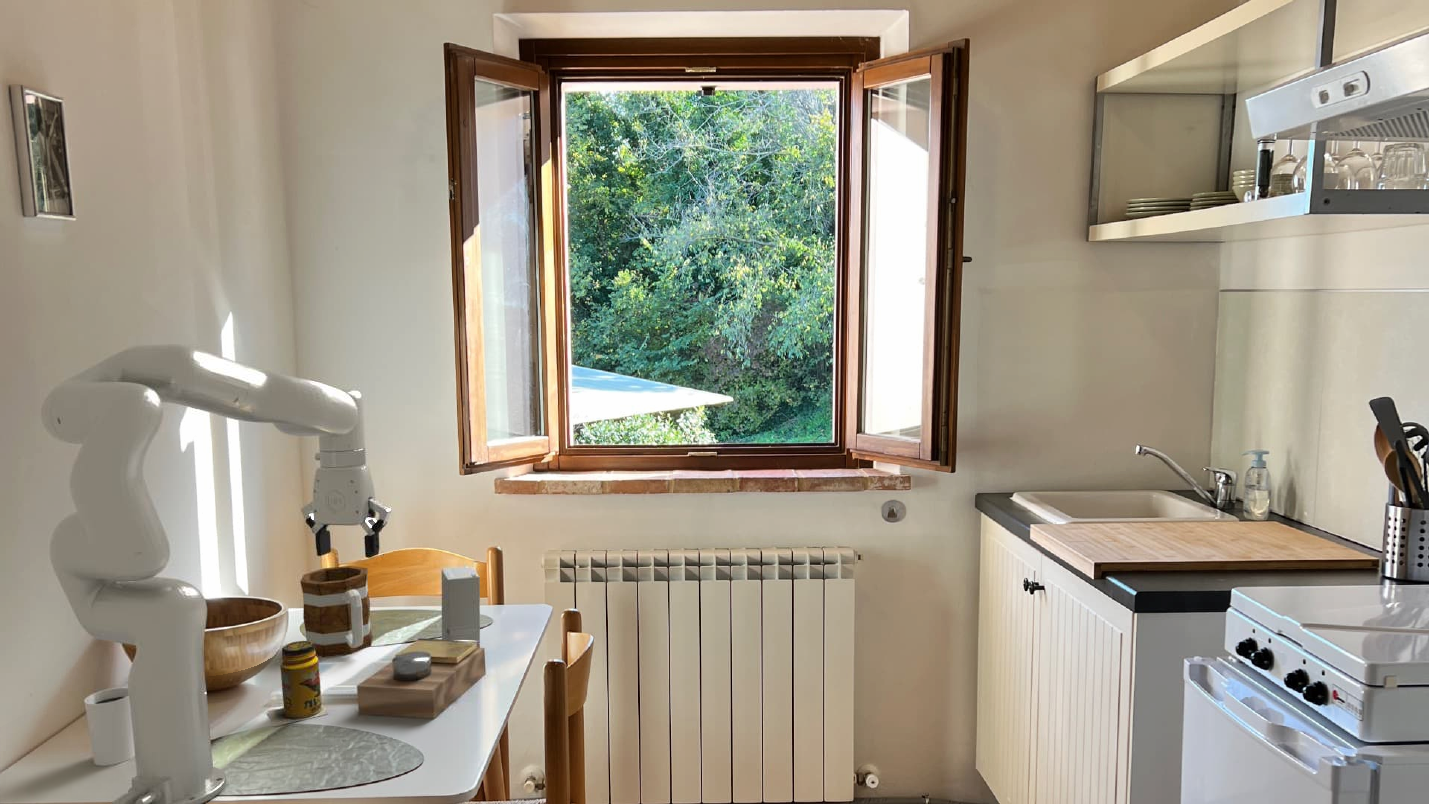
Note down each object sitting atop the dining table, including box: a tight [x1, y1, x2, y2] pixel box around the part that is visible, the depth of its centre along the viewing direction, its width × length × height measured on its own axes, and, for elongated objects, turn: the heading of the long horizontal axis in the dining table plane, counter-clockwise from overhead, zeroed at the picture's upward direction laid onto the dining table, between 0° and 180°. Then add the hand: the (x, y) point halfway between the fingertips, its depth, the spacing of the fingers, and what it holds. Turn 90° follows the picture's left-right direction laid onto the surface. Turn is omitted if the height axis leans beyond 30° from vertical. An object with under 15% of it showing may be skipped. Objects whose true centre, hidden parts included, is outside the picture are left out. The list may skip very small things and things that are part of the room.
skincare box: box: [440, 565, 481, 648], centre depth 197 cm, size 8×7×16 cm
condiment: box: [267, 640, 329, 727], centre depth 167 cm, size 7×8×12 cm
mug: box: [299, 565, 374, 658], centre depth 198 cm, size 20×14×15 cm
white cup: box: [83, 686, 135, 767], centre depth 153 cm, size 7×7×10 cm
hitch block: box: [356, 647, 487, 720], centre depth 175 cm, size 20×14×5 cm
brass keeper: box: [395, 637, 479, 663], centre depth 180 cm, size 9×12×1 cm
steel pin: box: [391, 651, 432, 682], centre depth 170 cm, size 6×6×8 cm
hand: (348, 555), depth 173 cm, fingers open, 9 cm apart
